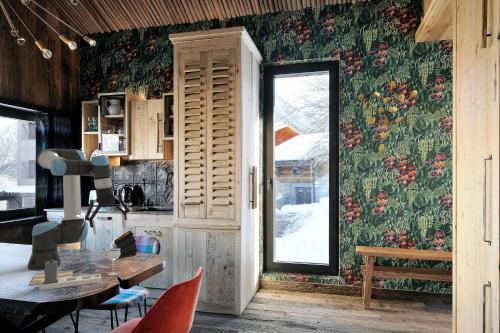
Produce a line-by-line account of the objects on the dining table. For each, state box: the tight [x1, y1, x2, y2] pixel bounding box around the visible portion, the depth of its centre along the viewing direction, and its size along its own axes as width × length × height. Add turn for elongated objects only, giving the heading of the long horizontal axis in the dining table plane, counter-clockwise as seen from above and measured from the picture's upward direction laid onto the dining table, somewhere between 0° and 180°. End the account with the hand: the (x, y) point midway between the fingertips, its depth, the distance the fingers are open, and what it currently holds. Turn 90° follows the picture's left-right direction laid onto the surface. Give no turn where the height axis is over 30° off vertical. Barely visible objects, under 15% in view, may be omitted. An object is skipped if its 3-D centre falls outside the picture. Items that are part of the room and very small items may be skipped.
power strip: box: [38, 273, 102, 291], centre depth 148 cm, size 7×24×3 cm, turn 117°
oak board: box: [30, 269, 74, 287], centre depth 156 cm, size 16×16×1 cm
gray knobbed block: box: [44, 260, 58, 284], centre depth 144 cm, size 4×4×11 cm
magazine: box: [113, 230, 138, 259], centre depth 200 cm, size 4×13×15 cm, turn 140°
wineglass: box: [105, 247, 121, 276], centre depth 165 cm, size 7×7×12 cm
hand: (110, 230), depth 160 cm, fingers open, 13 cm apart
